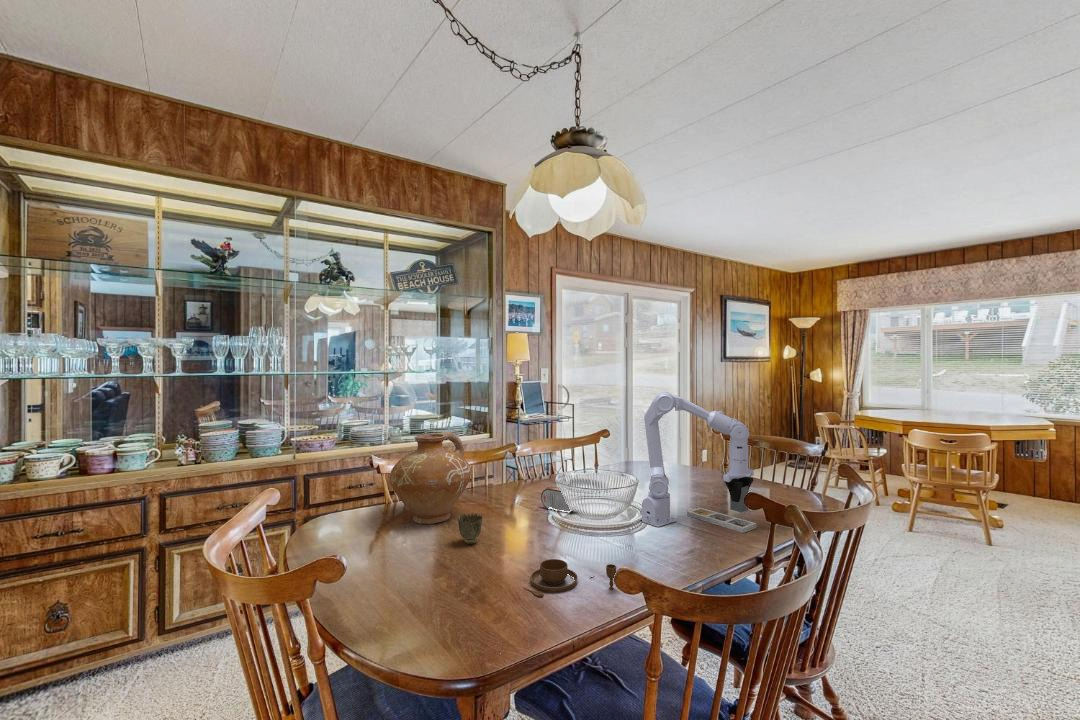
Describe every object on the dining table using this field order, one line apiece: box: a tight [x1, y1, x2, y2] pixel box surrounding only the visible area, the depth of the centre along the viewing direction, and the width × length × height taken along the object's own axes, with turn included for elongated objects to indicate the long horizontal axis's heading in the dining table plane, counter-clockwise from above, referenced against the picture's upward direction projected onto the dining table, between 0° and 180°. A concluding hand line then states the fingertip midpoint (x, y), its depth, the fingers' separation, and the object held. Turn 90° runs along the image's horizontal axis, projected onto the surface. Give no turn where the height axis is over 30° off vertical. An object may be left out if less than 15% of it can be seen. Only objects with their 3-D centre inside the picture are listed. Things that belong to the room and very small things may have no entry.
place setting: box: [522, 558, 617, 597], centre depth 120 cm, size 18×20×6 cm
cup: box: [457, 512, 483, 545], centre depth 150 cm, size 8×7×8 cm
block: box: [729, 485, 749, 513], centre depth 161 cm, size 4×4×8 cm
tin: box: [540, 485, 570, 511], centre depth 180 cm, size 15×3×8 cm, turn 58°
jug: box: [389, 431, 472, 525], centre depth 173 cm, size 28×28×30 cm
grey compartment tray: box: [686, 507, 758, 534], centre depth 167 cm, size 8×22×2 cm, turn 36°
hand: (738, 500), depth 161 cm, fingers closed on block, 4 cm apart
